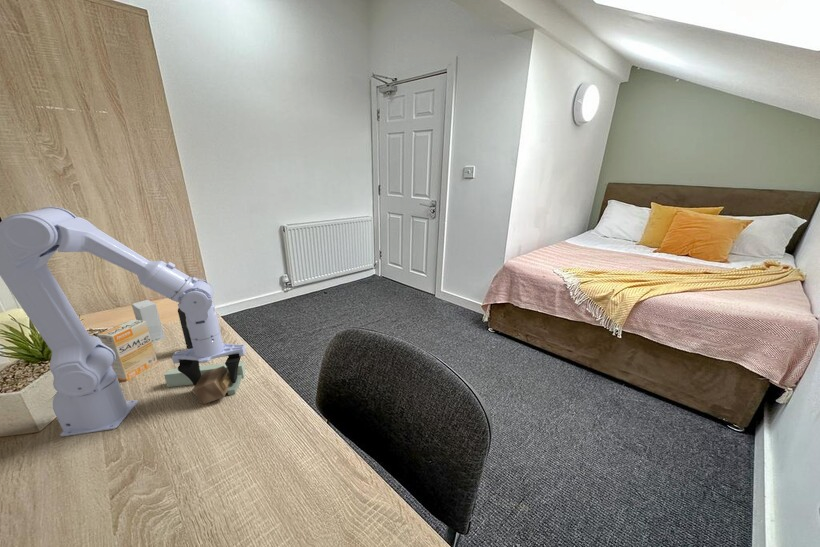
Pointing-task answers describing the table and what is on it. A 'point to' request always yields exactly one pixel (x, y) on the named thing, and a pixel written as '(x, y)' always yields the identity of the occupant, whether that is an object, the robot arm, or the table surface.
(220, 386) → the brown block
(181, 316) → the remote control
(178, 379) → the green l-shaped block
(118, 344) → the supplement box
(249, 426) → the table surface
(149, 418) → the table surface
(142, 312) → the skincare box
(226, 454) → the table surface
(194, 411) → the table surface
